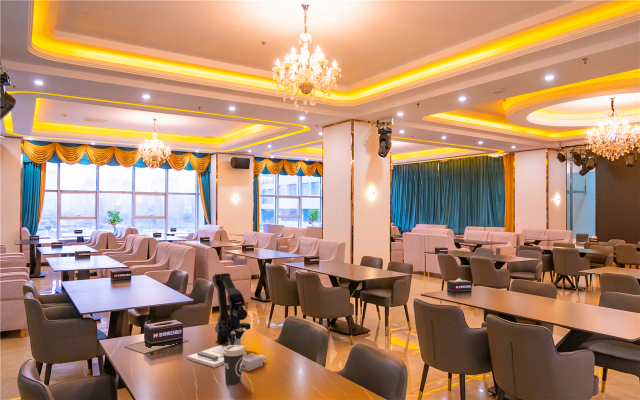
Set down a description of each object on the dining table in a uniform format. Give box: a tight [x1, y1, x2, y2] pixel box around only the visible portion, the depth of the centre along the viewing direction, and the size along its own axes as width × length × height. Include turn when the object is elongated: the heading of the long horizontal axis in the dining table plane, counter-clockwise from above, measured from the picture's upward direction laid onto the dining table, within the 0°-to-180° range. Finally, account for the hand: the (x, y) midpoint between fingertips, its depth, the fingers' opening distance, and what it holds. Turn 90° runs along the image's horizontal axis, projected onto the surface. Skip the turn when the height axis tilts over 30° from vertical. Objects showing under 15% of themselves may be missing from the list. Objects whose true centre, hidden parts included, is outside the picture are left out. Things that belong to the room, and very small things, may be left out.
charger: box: [242, 353, 268, 372], centre depth 211 cm, size 5×9×15 cm
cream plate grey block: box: [223, 337, 247, 350], centre depth 232 cm, size 8×10×5 cm
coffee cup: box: [222, 345, 245, 386], centre depth 190 cm, size 10×10×15 cm
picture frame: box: [123, 338, 189, 355], centre depth 242 cm, size 19×1×28 cm
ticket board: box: [187, 344, 248, 368], centre depth 222 cm, size 22×20×3 cm
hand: (234, 345), depth 232 cm, fingers closed on cream plate grey block, 3 cm apart
